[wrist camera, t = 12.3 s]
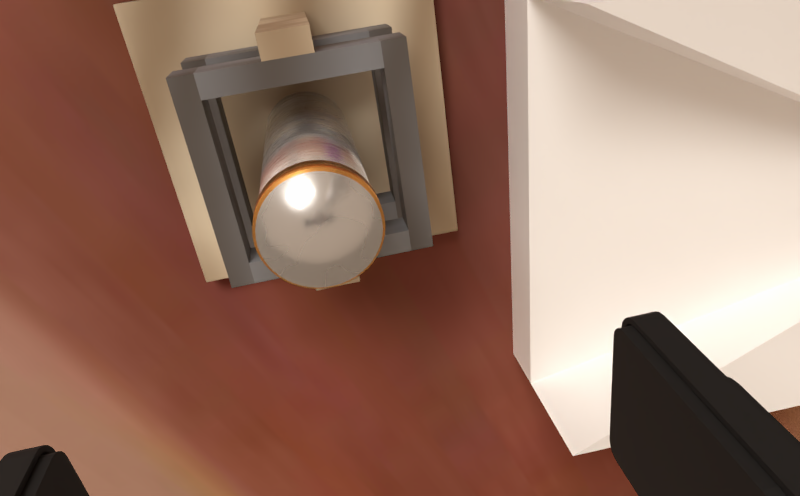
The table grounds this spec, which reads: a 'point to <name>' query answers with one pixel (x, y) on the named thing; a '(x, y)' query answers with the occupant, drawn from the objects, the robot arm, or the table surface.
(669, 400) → the robot arm
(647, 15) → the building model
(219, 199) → the collar stand
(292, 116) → the steel tube
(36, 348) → the table surface
